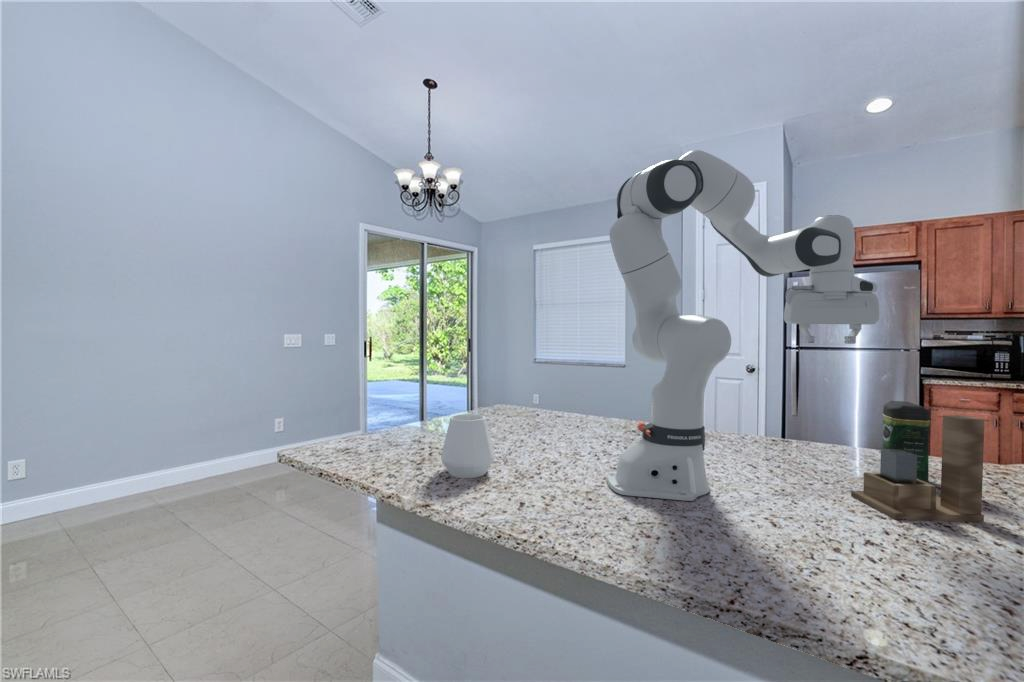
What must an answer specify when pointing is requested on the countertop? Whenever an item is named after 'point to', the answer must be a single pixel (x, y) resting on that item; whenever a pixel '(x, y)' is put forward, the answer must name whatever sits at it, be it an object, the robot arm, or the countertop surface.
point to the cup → (467, 446)
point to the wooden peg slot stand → (956, 480)
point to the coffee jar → (908, 432)
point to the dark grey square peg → (898, 466)
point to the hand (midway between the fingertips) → (829, 343)
